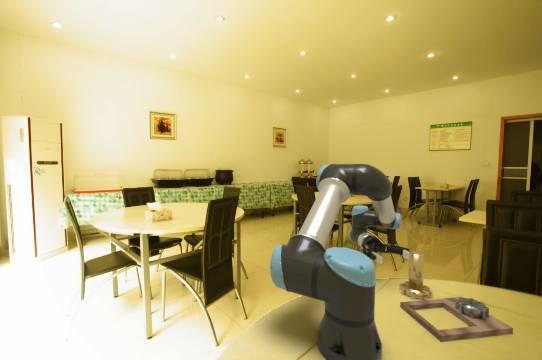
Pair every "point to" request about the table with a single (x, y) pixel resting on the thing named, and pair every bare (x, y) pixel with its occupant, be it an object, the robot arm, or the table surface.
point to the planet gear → (416, 278)
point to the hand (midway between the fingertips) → (398, 260)
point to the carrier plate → (477, 325)
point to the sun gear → (472, 308)
